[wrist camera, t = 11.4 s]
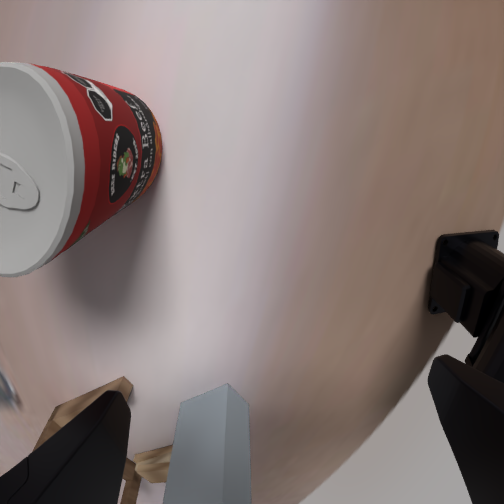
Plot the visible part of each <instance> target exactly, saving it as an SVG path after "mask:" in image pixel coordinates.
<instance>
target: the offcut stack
mask: <svg viewBox="0 0 504 504" xmlns="http://www.w3.org/2000/svg"><path fill="white" fill-rule="evenodd" d="M172 448H173V445H171V446H167V447H163V448H160V449H156V450H152V451H148V452H144V453H140V454H135V457H134V460H133V461H134V462H135V463H136V467H135V471H137V473H138V474H139V475H141V476H142V477H143V478H145V479H146V480H147V481H149V482H150V483H161V482H166V481H167V476H168V470H169V464H170V459H171V453H172Z"/></svg>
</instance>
